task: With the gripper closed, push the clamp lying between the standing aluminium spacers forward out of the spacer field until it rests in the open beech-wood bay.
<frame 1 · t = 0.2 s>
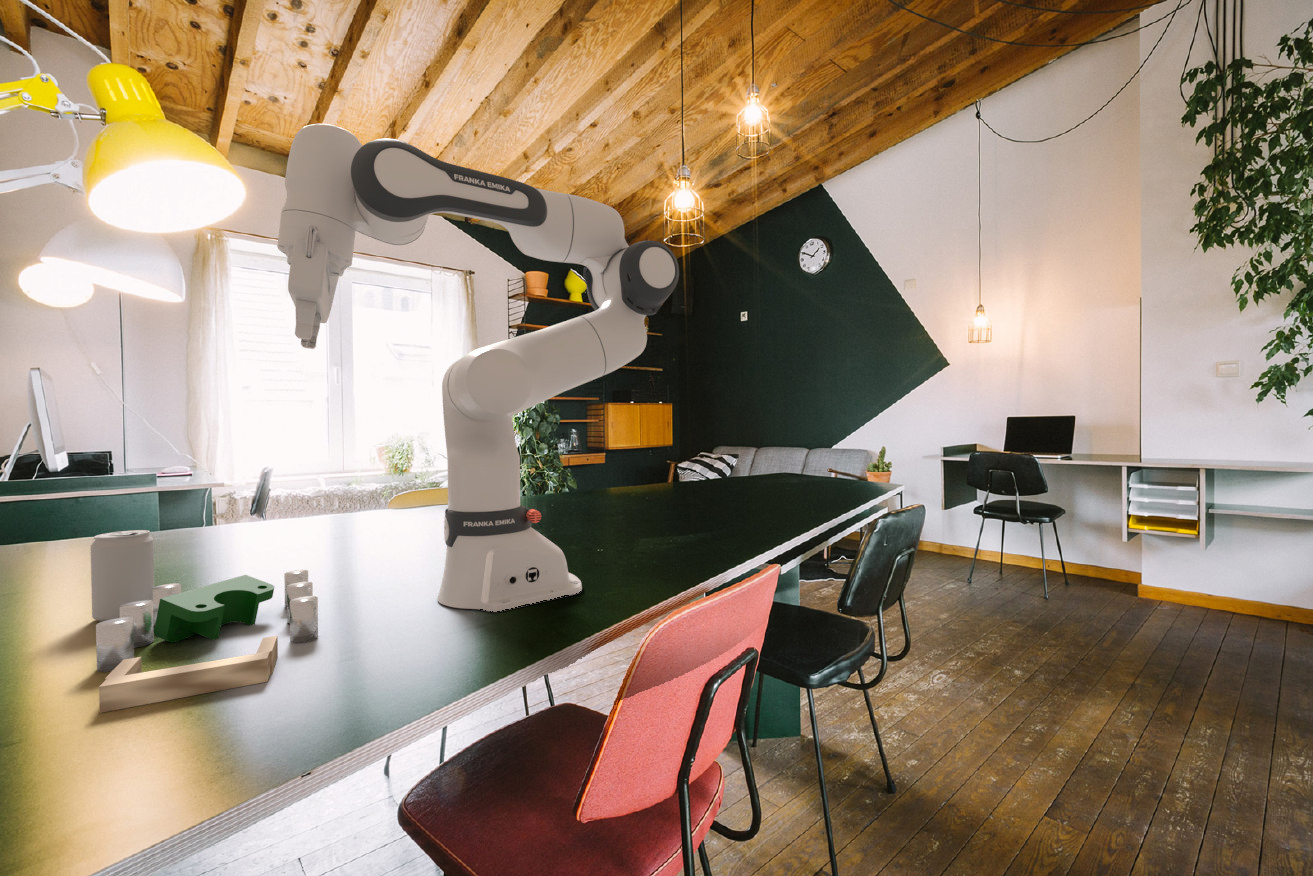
hand: (305, 343, 75), 39 cm above the table, tool pointing down, fingers open, 8 cm apart
beverage can: (124, 618, 77), on the table
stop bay: (191, 692, 55), on the table
clamp: (220, 632, 72), on the table
spacers: (220, 629, 72), on the table
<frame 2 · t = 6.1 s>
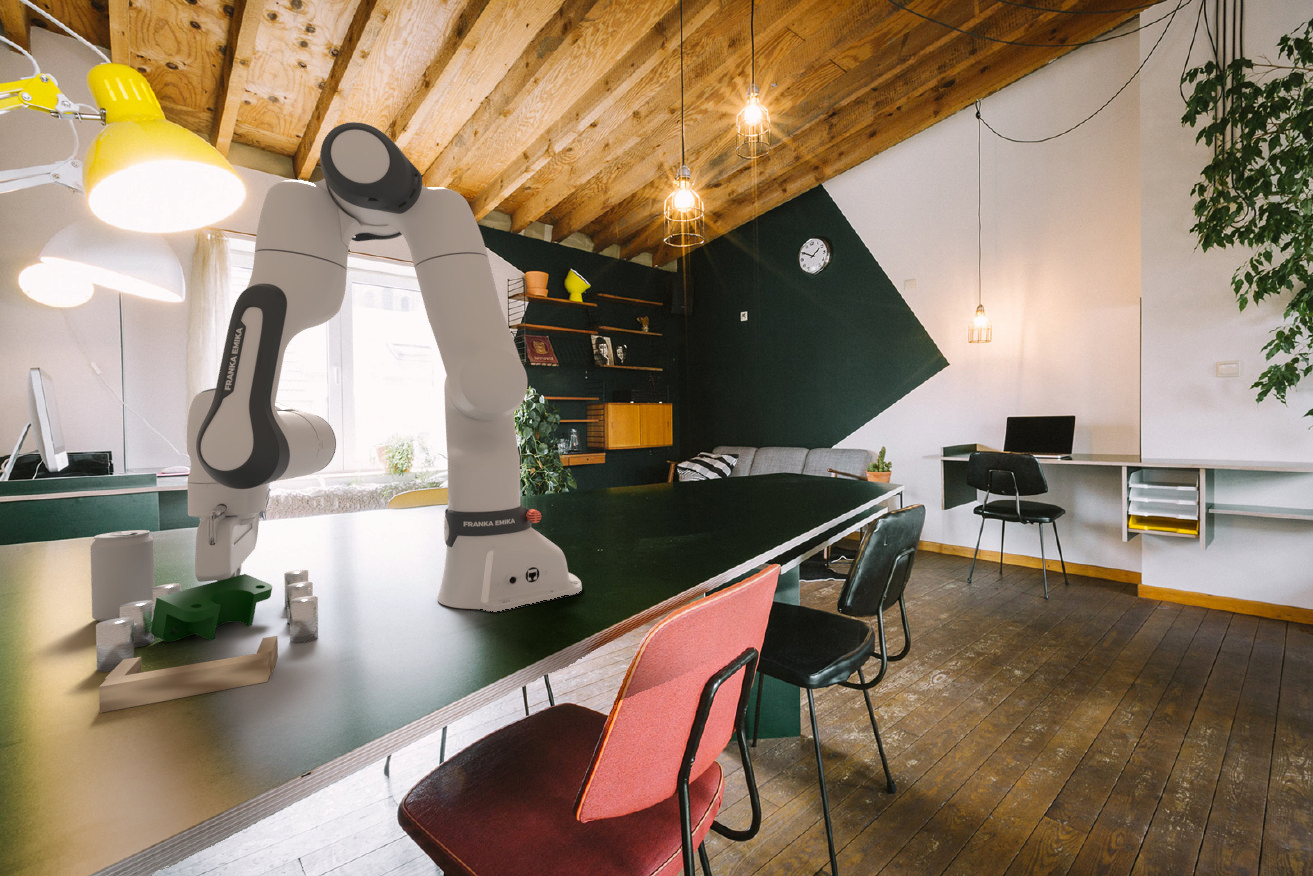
hand: (229, 596, 78), 3 cm above the table, tool pointing down, fingers closed
clamp: (217, 631, 72), on the table, touching gripper
everything else where it was.
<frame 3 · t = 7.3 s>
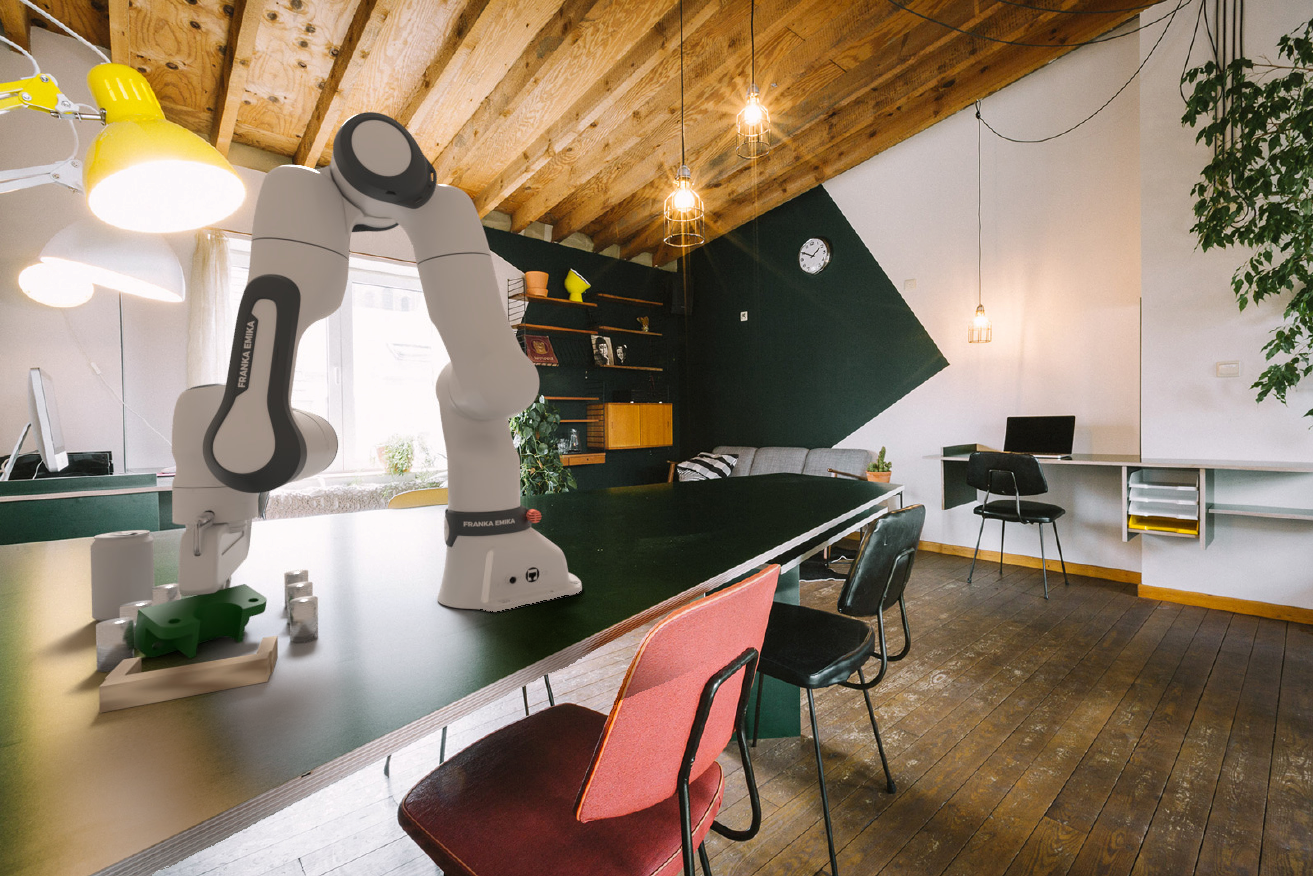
hand: (217, 610, 72), 3 cm above the table, tool pointing down, fingers closed
clamp: (205, 647, 67), on the table, touching gripper
everything else where it was.
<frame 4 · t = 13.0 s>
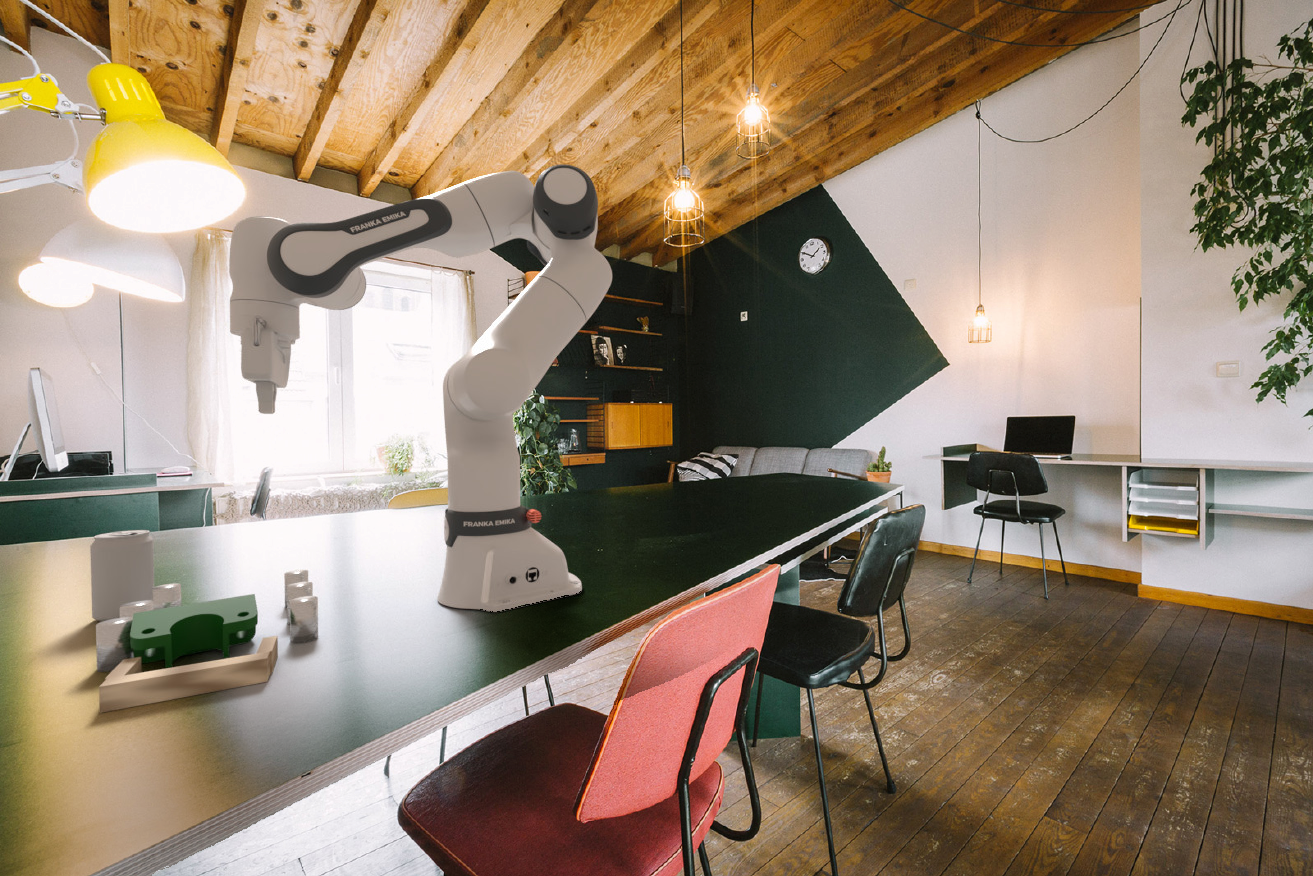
hand: (267, 413, 85), 29 cm above the table, tool pointing down, fingers closed
clamp: (198, 659, 64), on the table
everything else where it was.
at the end: clamp inside the target area (4.4 cm from its centre), on the table; clamp moved 9.3 cm from its start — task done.
